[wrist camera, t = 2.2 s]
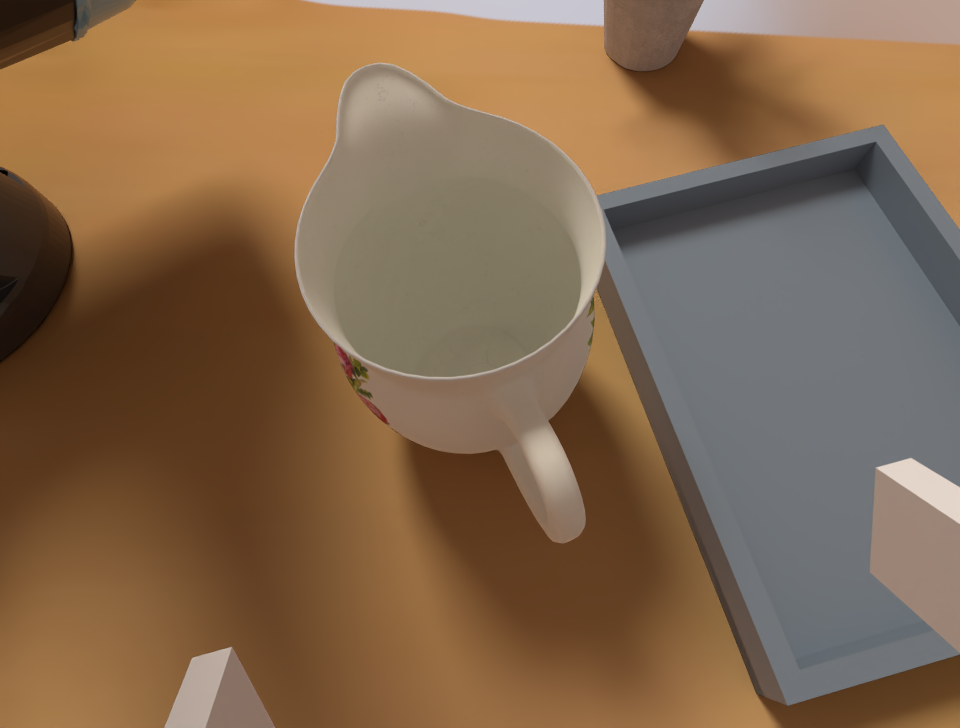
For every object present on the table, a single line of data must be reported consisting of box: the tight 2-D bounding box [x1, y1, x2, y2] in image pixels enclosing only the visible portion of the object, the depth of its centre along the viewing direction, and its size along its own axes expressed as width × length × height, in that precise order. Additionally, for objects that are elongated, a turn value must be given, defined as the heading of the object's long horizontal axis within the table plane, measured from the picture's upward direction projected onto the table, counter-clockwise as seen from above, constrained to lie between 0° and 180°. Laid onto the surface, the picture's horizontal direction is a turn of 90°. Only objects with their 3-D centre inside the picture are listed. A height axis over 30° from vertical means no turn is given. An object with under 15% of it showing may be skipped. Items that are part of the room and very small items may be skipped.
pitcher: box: [295, 63, 607, 544], centre depth 24 cm, size 11×18×14 cm, turn 24°
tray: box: [597, 125, 960, 706], centre depth 28 cm, size 25×18×3 cm
